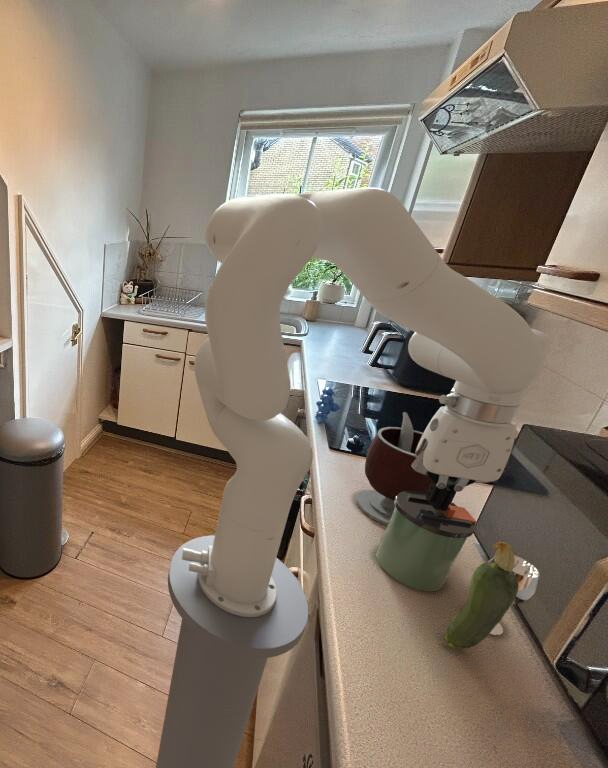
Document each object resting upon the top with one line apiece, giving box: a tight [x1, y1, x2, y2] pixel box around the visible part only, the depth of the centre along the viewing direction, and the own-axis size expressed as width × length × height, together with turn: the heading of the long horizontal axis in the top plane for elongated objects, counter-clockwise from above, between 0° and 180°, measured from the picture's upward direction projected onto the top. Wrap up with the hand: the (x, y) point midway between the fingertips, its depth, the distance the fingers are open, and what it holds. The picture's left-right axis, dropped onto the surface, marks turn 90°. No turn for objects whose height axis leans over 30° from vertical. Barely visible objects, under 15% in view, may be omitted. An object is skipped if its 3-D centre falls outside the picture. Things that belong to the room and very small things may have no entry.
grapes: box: [314, 386, 341, 423], centre depth 124 cm, size 12×7×12 cm, turn 149°
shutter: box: [440, 504, 477, 524], centre depth 68 cm, size 4×4×2 cm
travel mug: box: [375, 491, 477, 592], centre depth 71 cm, size 11×11×14 cm
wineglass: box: [486, 554, 541, 636], centre depth 62 cm, size 6×6×12 cm
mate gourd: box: [355, 411, 432, 526], centre depth 85 cm, size 16×14×20 cm
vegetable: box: [444, 541, 518, 650], centre depth 55 cm, size 4×4×20 cm
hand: (435, 504), depth 68 cm, fingers closed
